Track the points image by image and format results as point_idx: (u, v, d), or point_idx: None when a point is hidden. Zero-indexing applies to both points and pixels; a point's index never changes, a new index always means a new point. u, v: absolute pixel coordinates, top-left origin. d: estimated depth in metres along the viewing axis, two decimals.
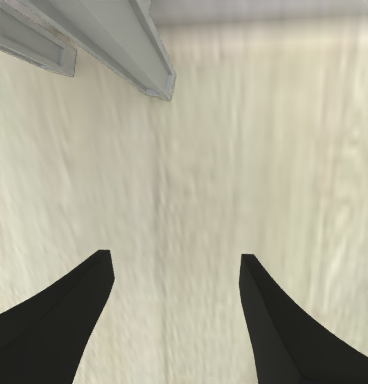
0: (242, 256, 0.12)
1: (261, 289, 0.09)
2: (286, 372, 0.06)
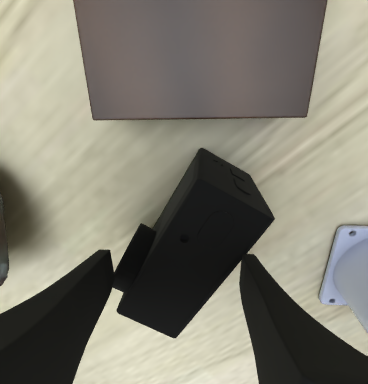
0: (242, 256, 0.12)
1: (262, 289, 0.09)
2: (287, 372, 0.06)
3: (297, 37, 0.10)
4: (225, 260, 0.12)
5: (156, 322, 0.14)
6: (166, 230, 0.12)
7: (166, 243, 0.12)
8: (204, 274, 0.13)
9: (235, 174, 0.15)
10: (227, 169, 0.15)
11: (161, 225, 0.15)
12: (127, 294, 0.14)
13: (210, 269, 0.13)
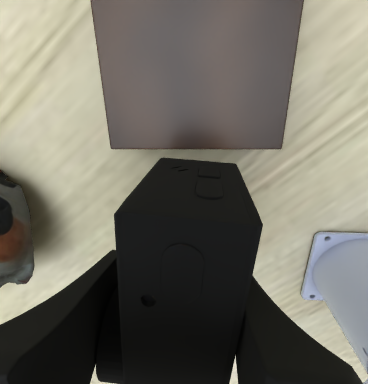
0: None
1: None
2: (256, 370, 0.06)
3: (272, 90, 0.13)
4: (222, 311, 0.08)
5: None
6: (119, 297, 0.08)
7: (129, 314, 0.08)
8: (205, 339, 0.08)
9: (203, 174, 0.10)
10: (193, 171, 0.11)
11: None
12: None
13: (209, 330, 0.08)
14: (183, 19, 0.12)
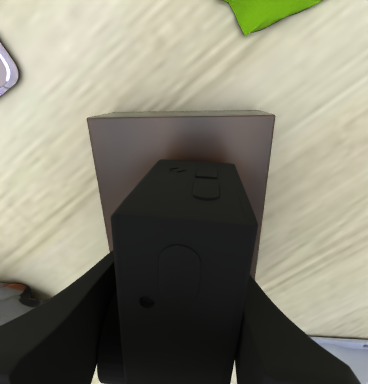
0: None
1: None
2: (254, 370, 0.06)
3: None
4: (221, 311, 0.08)
5: None
6: (118, 299, 0.08)
7: (128, 316, 0.08)
8: (204, 340, 0.08)
9: (200, 175, 0.10)
10: (190, 172, 0.11)
11: None
12: None
13: (208, 330, 0.08)
14: None
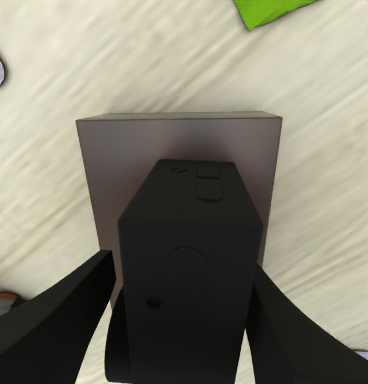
0: None
1: (258, 289, 0.09)
2: (282, 372, 0.06)
3: None
4: (227, 310, 0.08)
5: None
6: (125, 301, 0.08)
7: (135, 317, 0.08)
8: (210, 337, 0.08)
9: (202, 175, 0.10)
10: (192, 172, 0.11)
11: None
12: None
13: (214, 328, 0.08)
14: None
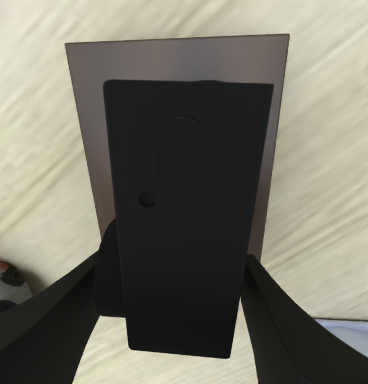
0: None
1: (261, 289, 0.09)
2: (286, 372, 0.06)
3: None
4: (230, 205, 0.07)
5: (188, 344, 0.09)
6: (114, 199, 0.07)
7: (126, 221, 0.07)
8: (212, 244, 0.07)
9: None
10: None
11: None
12: (126, 319, 0.09)
13: (216, 232, 0.07)
14: None
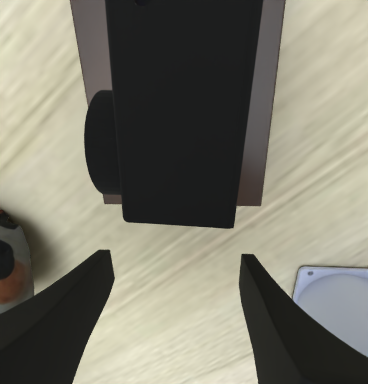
0: (242, 256, 0.12)
1: (261, 289, 0.09)
2: (286, 372, 0.06)
3: (250, 157, 0.15)
4: None
5: (188, 210, 0.09)
6: None
7: (119, 28, 0.06)
8: (215, 59, 0.07)
9: None
10: None
11: None
12: (120, 178, 0.08)
13: (219, 39, 0.06)
14: None
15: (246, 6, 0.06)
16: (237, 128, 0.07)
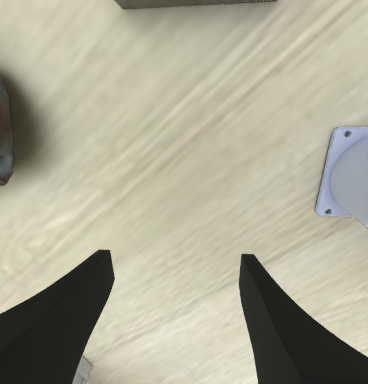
0: (242, 256, 0.12)
1: (261, 289, 0.09)
2: (286, 372, 0.06)
3: None
4: None
5: None
6: None
7: None
8: None
9: None
10: None
11: None
12: None
13: None
14: None
15: None
16: None
